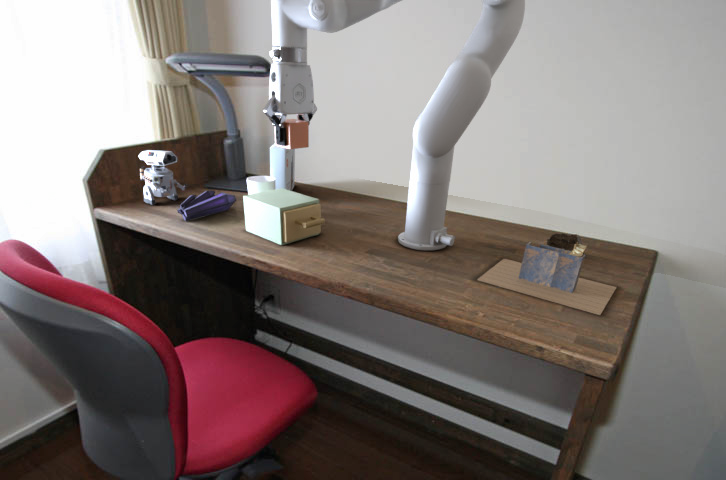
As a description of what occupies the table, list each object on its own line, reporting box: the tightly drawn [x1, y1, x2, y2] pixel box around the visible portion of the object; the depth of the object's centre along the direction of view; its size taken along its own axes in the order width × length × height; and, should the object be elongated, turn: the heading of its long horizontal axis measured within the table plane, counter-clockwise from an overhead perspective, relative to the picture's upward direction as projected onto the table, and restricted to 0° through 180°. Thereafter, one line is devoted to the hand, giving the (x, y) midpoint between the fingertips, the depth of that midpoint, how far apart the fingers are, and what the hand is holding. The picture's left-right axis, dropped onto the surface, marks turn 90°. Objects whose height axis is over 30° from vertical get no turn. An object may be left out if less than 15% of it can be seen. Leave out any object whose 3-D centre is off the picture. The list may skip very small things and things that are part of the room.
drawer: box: [282, 203, 326, 243], centre depth 119 cm, size 18×11×7 cm, turn 47°
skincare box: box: [269, 143, 296, 191], centre depth 154 cm, size 21×5×16 cm, turn 179°
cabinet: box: [242, 188, 320, 246], centre depth 121 cm, size 15×13×9 cm
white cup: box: [246, 175, 276, 195], centre depth 134 cm, size 8×8×10 cm
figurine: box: [137, 149, 189, 206], centre depth 139 cm, size 9×12×15 cm
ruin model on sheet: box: [476, 241, 618, 316], centre depth 99 cm, size 25×16×10 cm, turn 54°
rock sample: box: [546, 232, 583, 251], centre depth 117 cm, size 10×8×9 cm
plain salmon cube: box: [274, 118, 310, 150], centre depth 112 cm, size 6×6×6 cm
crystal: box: [176, 190, 237, 222], centre depth 133 cm, size 7×12×20 cm
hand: (291, 143), depth 113 cm, fingers closed on plain salmon cube, 5 cm apart
